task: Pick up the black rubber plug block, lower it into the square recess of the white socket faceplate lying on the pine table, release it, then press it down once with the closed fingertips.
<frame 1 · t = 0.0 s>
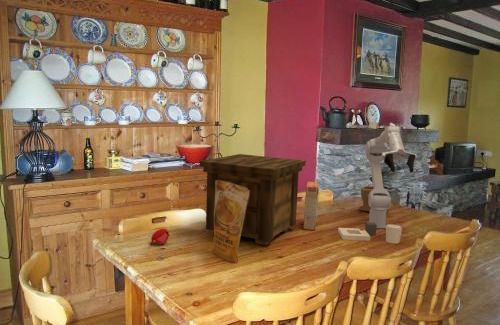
hand: (402, 170, 167), 32 cm above the table, tool tilted 50°, fingers open, 7 cm apart
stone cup: (372, 212, 227), on the table
pancake mix bag: (226, 256, 152), on the table
cap: (160, 244, 163), on the table
socket plate: (353, 236, 182), on the table
plug: (370, 233, 187), on the table
crate: (252, 232, 183), on the table
cracker box: (310, 226, 195), on the table
shot glass: (392, 242, 177), on the table
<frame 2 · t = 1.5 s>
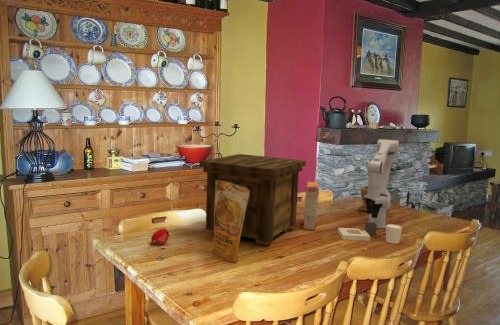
hand: (371, 215, 185), 9 cm above the table, tool pointing down, fingers open, 7 cm apart
nothing on the table moved.
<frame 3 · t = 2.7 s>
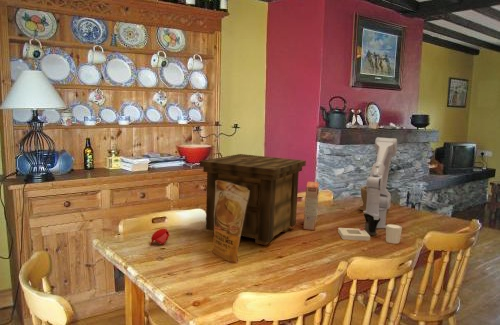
hand: (370, 230, 186), 1 cm above the table, tool pointing down, fingers closed on plug, 4 cm apart
plug: (370, 233, 187), on the table, touching gripper
everything else where it was.
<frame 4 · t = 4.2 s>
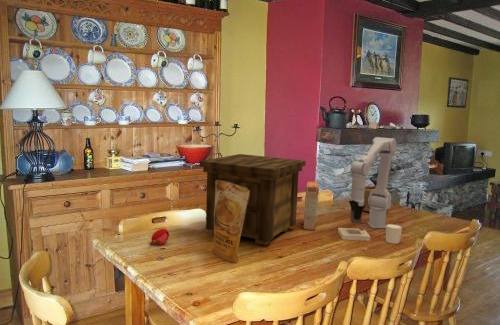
hand: (355, 217, 181), 8 cm above the table, tool pointing down, fingers closed on plug, 4 cm apart
plug: (355, 222, 181), point 7 cm above the table, touching gripper
everything else where it was.
when the fingers open (2 cm above the table, at t = 5.6 s): plug stays where it is, resting in socket plate.
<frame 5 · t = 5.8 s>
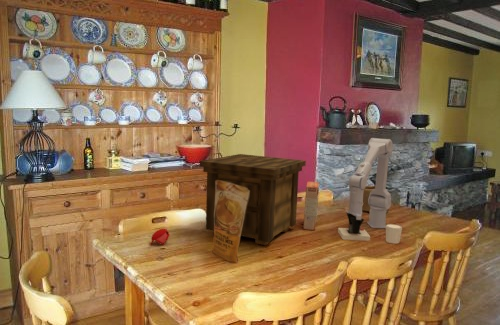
hand: (353, 231, 182), 2 cm above the table, tool pointing down, fingers open, 6 cm apart
plug: (353, 236, 182), resting in socket plate
everything else where it was.
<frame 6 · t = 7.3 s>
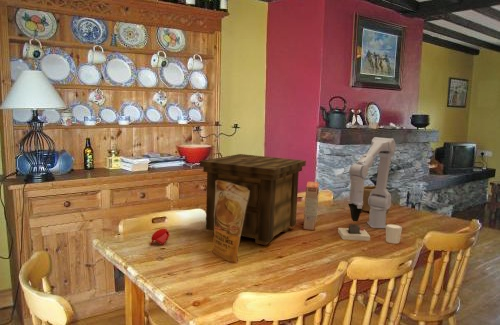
hand: (354, 220, 181), 7 cm above the table, tool pointing down, fingers closed
nothing on the table moved.
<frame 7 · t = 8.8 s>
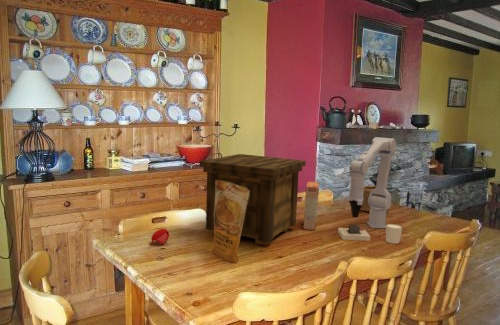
hand: (354, 217, 181), 9 cm above the table, tool pointing down, fingers closed
nothing on the table moved.
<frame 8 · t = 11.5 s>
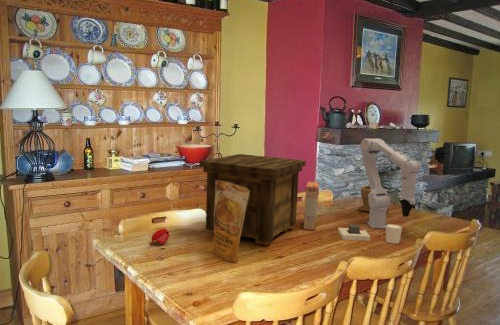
hand: (405, 216, 184), 9 cm above the table, tool pointing down, fingers closed
nothing on the table moved.
at the end: plug 0.1 cm off-centre on the socket plate, point 0.0 cm above the socket plate's base; plug tilted 0°; the gripper is holding nothing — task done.
